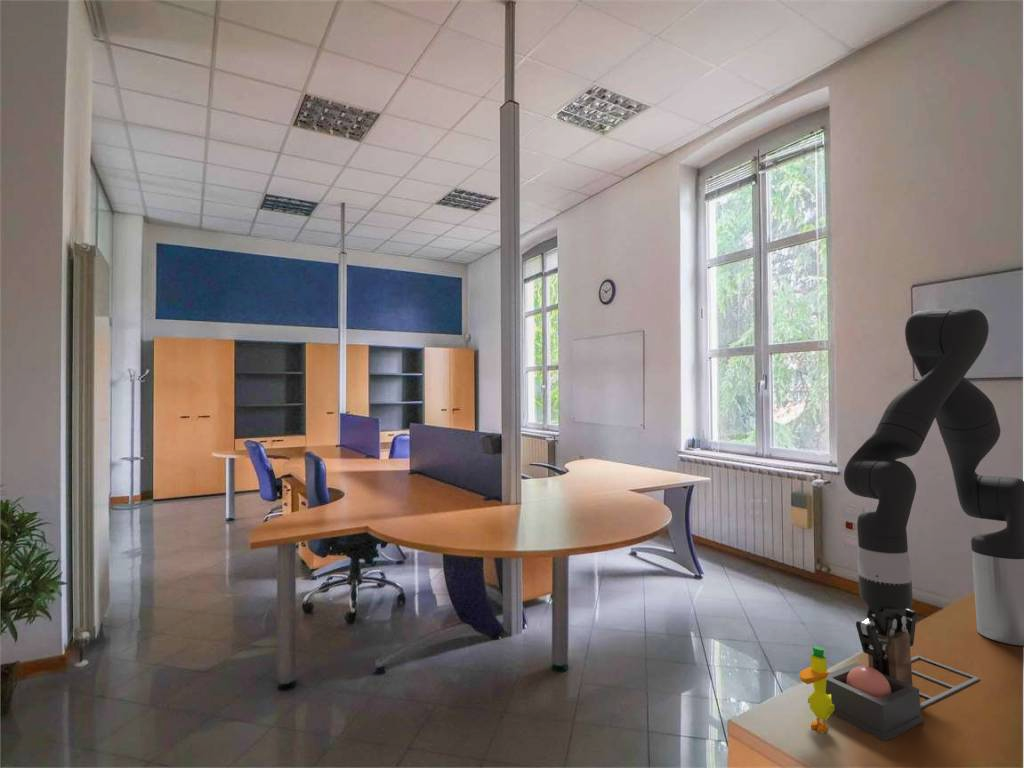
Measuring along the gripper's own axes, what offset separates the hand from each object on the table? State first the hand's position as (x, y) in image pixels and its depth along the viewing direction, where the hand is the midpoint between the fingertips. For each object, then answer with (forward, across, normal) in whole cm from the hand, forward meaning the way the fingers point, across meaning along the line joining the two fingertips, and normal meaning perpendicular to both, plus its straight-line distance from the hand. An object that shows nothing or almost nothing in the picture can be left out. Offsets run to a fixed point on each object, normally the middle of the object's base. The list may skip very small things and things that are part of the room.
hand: (890, 675), depth 89 cm
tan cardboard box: (+2, 0, 0) cm, 2 cm away
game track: (+3, +7, 0) cm, 8 cm away
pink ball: (+2, -10, -2) cm, 10 cm away
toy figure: (+3, -20, 0) cm, 20 cm away
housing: (+3, -10, -2) cm, 10 cm away
